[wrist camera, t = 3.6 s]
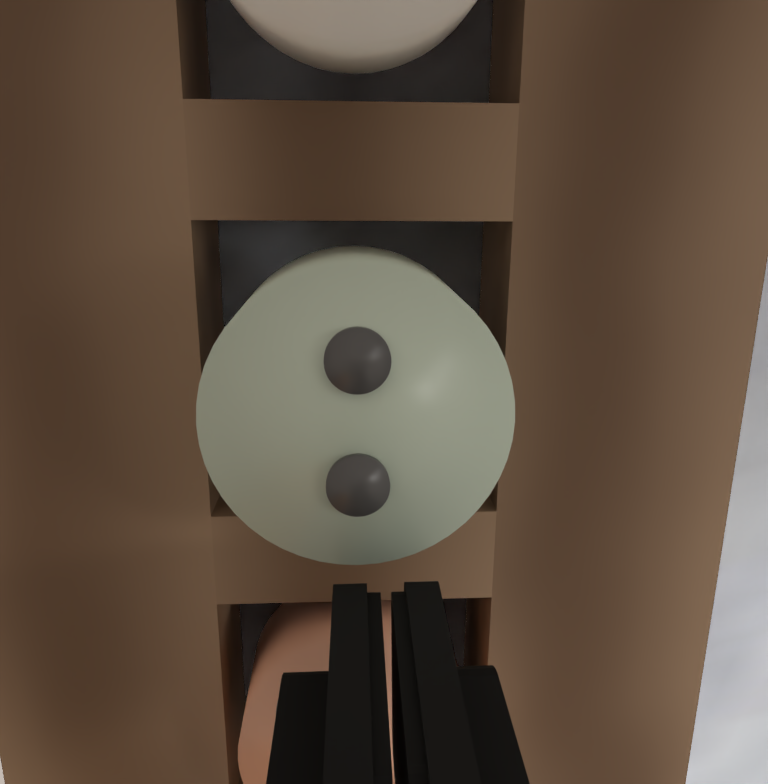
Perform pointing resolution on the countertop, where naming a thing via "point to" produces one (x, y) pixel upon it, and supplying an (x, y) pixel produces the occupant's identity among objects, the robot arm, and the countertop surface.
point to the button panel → (497, 310)
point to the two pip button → (355, 408)
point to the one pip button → (354, 30)
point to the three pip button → (291, 654)
